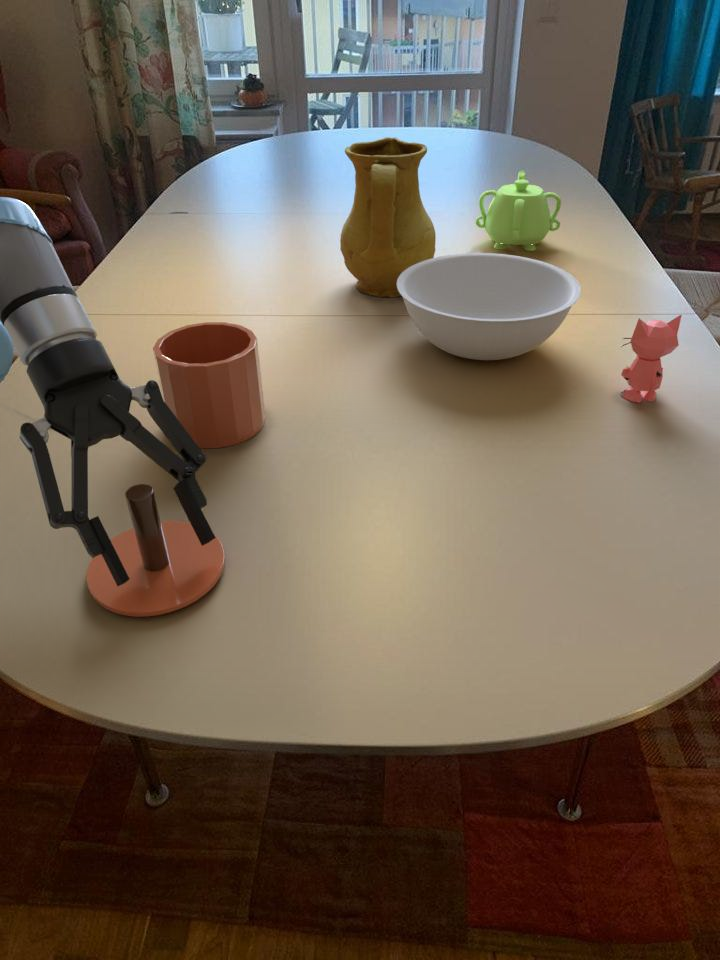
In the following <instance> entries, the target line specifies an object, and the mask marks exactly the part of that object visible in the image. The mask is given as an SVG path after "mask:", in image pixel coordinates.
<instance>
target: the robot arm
mask: <svg viewBox="0 0 720 960" xmlns="http://www.w3.org/2000/svg"><path fill="white" fill-rule="evenodd" d="M97 337H98V332H97V330H96V328H95V326H94V324H93V322H92V321H91V319H90V317H89V315H88V313H87V311H86V310H85V307H84V305H83V304H82V301H81V300H80V298H79V296H78V294H77V292H76V291H75V289H74V287H73V285H72V283H71V280H70V278H69V277H68V274H67V272H66V270H65V268H64V266H63V264H62V262H61V259H60V257H59V256H58V252H56V249H55V247H54V243H53V240H52V238H51V237H50V235H48V233H47V231H46V230H45V228H44V226H43V225H42V223H41V221H40V219H39V218H38V216H37V215H36V214H35V212H34V211H33V210H32V207H30V206H29V205H28V204H26V203H25V202H23V201H21V200H19V199H17V198H14V197H8V196H7V197H6V196H0V384H1V383H2V382H3V381H4V380H5V377H7V375H8V374H9V372H10V370H11V367H12V365H13V361H14V349H15V352H16V355H17V356H18V358H19V360H20V362H21V363H22V364H23V365H25V366H27V367H26V373H27V376H28V378H29V380H30V382H31V385H32V386H33V389H34V390H35V393H36V395H37V396H38V398H39V400H40V402H41V404H42V406H43V410H44V415H43V417H42V418H40V419H37V420H36V421H34V422H32V423H31V422H23V423H22V424H21V425H20V430H19V439H20V441H21V443H23V445H24V446H25V448H26V450H27V451H28V452H29V453H30V454H31V455H30V456H31V458H32V463H33V466H34V469H35V473H36V478H37V481H38V484H39V489H40V492H41V497H42V501H43V504H44V508H45V512H46V516H47V520H48V523H49V525H50V527H51V528H52V529H55V530H59V529H61V528H72V529H74V530H75V531H76V532H77V534H78V536H79V538H80V540H81V543H82V544H83V547H84V548H85V550H86V552H87V555H89V556H90V557H91V558H92V559H93V558H94V557H96V556H98V555H100V554H102V556H103V558H104V560H105V562H106V564H107V566H108V568H109V570H110V572H111V574H112V576H113V578H114V580H115V582H116V584H117V586H120V585H122V584H124V583H126V582H127V581H128V580H129V577H128V575H127V573H126V571H125V569H124V567H123V565H122V563H121V561H120V559H119V557H118V555H117V553H116V551H115V549H114V547H113V545H112V543H111V541H110V540H111V539H110V537H109V535H108V533H107V531H106V528H105V527H104V524H103V523H102V521H101V519H100V517H99V515H97V516H94V517H92V518H89V461H88V460H89V457H88V455H89V454H88V452H89V448H90V447H92V446H95V445H97V444H99V443H100V442H101V441H103V440H108V439H113V438H117V437H119V436H120V437H121V438H122V439H123V440H125V441H126V442H129V443H131V444H132V445H133V446H135V448H137V449H138V450H139V451H141V452H142V453H143V454H144V455H145V456H147V457H148V458H149V459H150V460H151V461H152V462H153V463H155V464H156V465H158V466H159V467H160V468H161V469H162V470H164V471H165V472H166V473H167V474H168V475H170V476H171V478H173V479H174V480H175V481H177V483H176V484H175V486H174V487H173V488H172V489H173V492H174V494H175V495H176V497H177V499H178V501H179V503H180V505H181V507H182V510H183V511H184V513H185V515H186V517H187V519H188V522H190V523H191V525H192V527H193V529H194V531H195V533H196V535H197V537H198V539H199V541H200V543H201V545H202V546H203V545H205V544H207V543H209V542H210V541H212V540H213V539H215V536H214V534H215V533H214V532H213V530H212V528H211V526H210V524H209V521H208V520H207V518H206V516H205V514H204V512H203V509H204V508H205V507H206V506H207V505H208V502H207V497H206V496H205V494H204V492H203V490H202V488H201V486H200V484H199V482H198V480H197V478H196V473H197V472H198V471H199V470H200V469H201V468H202V466H204V464H205V463H206V461H207V457H206V454H205V453H204V452H203V451H202V448H199V447H198V445H197V444H196V443H195V441H194V440H193V439H192V437H191V436H190V435H189V433H188V432H187V431H186V430H185V428H184V427H183V426H182V424H181V423H180V422H179V420H178V419H177V418H176V416H175V415H174V414H173V412H172V411H171V410H170V408H169V407H168V406H167V404H166V403H165V402H164V401H163V397H162V392H161V387H160V384H159V383H158V382H157V381H156V380H151V379H150V380H148V381H147V382H146V384H145V385H138V386H133V387H130V386H128V384H126V383H125V382H123V380H121V377H119V375H118V373H117V370H116V368H115V366H114V364H113V362H112V360H111V359H110V356H109V355H108V353H107V351H106V348H105V347H104V344H103V343H102V341H100V340H98V339H97ZM132 401H135V402H136V403H137V404H138V405H139V406H140V407H141V408H143V409H146V410H147V412H148V415H149V416H150V417H151V419H152V420H153V422H154V423H155V424H156V426H157V427H158V428H159V429H160V431H161V432H162V433H163V435H164V436H165V437H166V439H167V440H168V441H169V442H170V444H171V445H172V446H173V448H174V449H175V450H176V452H177V453H178V454H179V455H178V454H177V453H175V451H173V449H171V448H170V447H168V446H167V445H166V443H164V442H162V441H161V440H160V439H159V438H157V437H156V436H155V435H154V434H153V433H152V432H150V430H148V429H147V428H146V427H144V426H143V424H142V423H141V421H140V420H139V419H138V418H137V417H135V415H133V414H132V413H131V412H130V409H131V404H132ZM49 430H53V431H54V432H56V433H57V434H60V435H61V436H63V437H65V438H67V439H69V440H70V457H71V492H70V493H71V496H70V497H71V500H70V501H71V506H70V507H71V508H70V509H71V510H65V509H64V505H63V501H62V497H61V493H60V490H59V486H58V482H57V479H56V474H55V470H54V467H53V463H52V460H51V459H52V458H51V456H50V452H49V448H48V446H47V443H48V442H49V438H50V435H49V432H48V431H49Z"/></svg>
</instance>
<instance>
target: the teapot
mask: <svg viewBox="0 0 720 960" xmlns="http://www.w3.org/2000/svg"><path fill="white" fill-rule="evenodd" d="M517 173H518V174H517V180H514V183H511V184H510V183H509V184H504V185H502V186H500V187H499V188H498V190H494V189H488V190H486V191H483V193H482V194H480V196H479V199H478V206H479V210H480V213H481V215H479V216H477V217H476V219H475V226H476V227H477V228H480V229H485V232H486V234H487V236H488V237H489V239H490V240H491V241H493V242H494V243H495V244H494V245H493V248H494V249H497V250H505V249H506V248H507V246H508V245H515V246H516V245H517V246H522V247H523V250H525V251H527V252H528V251H529V252H530V251H531V252H532V251H533V252H534V251H536V250H537V248H536V245H537V244H539V243H541V242H542V241H543V240H544V239H545V238H546V236H547V235H548V233H549V232H556V231H558V230H559V229H560V227H561V222H560V220H559V219H558V218H556V217H557V216H558V214H559V212H560V209H561V207H562V199H561V197H560V195H558V194H557V193H555V192H553V191H547V192H544V190H543V188H542V187H540V186H538V185H535V184H530V181H529V180H527V179H526V172H525V170H523V169H521V170H519V171H518V172H517ZM487 196H494V197H493V199H492V200H491V202H490V204H489V206H488V209H487V212H486V210H485V209H486V208H485V205H484V199H485V198H486V197H487ZM547 198H553V199H554V200H555V201H556V205H555V207H554V210H553V212H552V214H551V211H550V207H549V203H548V199H547ZM480 220H482V222H480ZM553 223H555V224H556V225H555V226H553ZM500 243H503V244H500ZM531 244H533V245H531Z"/></svg>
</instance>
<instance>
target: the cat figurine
mask: <svg viewBox="0 0 720 960" xmlns="http://www.w3.org/2000/svg"><path fill="white" fill-rule="evenodd" d="M681 320H682V313H681V314H679V315H677V316H676V317H675V318H673V319H672V320H670V321H668V322H666V321H663V320H659V319H651V320H648V321H646V322H645V321H643V320H642V319H641V318H639V317H638V319H637V321H636V324H635V328H634V330H633V333H632V336H631V337H623V338H622V340H630V342H627V343H625V344H623V345H621V346H620V348H622V347H623V346H626V345H629V344H630V345H631V348H632V349H631V350H632V351H633V352H634V353H635V354H636V357H635V358H634V360H633V361H632V362H631V364H630V366H628V365H627V366H626V367H625V368H623V369H622V371H621V374H620V376H622V377H623V378H624V380H626V382H627V385H628V386H630V387H628V388H625V389H624V390H622V391H620V397H622V398H623V399H626V400H628V401H630V402H633V403H638V404H640V403H642V402H643V401H642V398H643V399H644V400H646V401H647V402H654V401H656V400H657V392H656V391H657V390H659V389H661V385H662V381H663V373H664V372H663V370H664V368H663V367H662V360H661V358H663V357H665V356H667V355H670V354H672V353H673V352H674V351H675V350H676V348H678V347H679V346H680V345H679V338H678V334H679V328H680V324H681Z"/></svg>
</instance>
